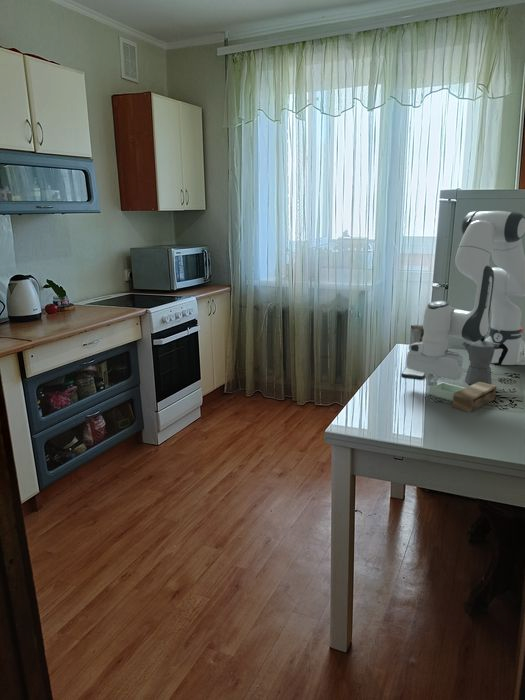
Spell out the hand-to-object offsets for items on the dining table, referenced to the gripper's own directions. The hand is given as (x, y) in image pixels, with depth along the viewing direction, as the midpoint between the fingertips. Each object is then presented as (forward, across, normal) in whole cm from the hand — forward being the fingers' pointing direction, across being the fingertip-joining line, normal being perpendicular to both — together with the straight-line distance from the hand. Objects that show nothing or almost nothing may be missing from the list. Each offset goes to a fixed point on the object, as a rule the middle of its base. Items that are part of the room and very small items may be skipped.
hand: (432, 385), depth 181 cm
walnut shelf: (+2, -15, 0) cm, 15 cm away
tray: (+2, -10, 0) cm, 10 cm away
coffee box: (+2, +21, -27) cm, 34 cm away
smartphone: (+3, +16, -15) cm, 23 cm away
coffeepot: (+2, -8, -21) cm, 22 cm away
